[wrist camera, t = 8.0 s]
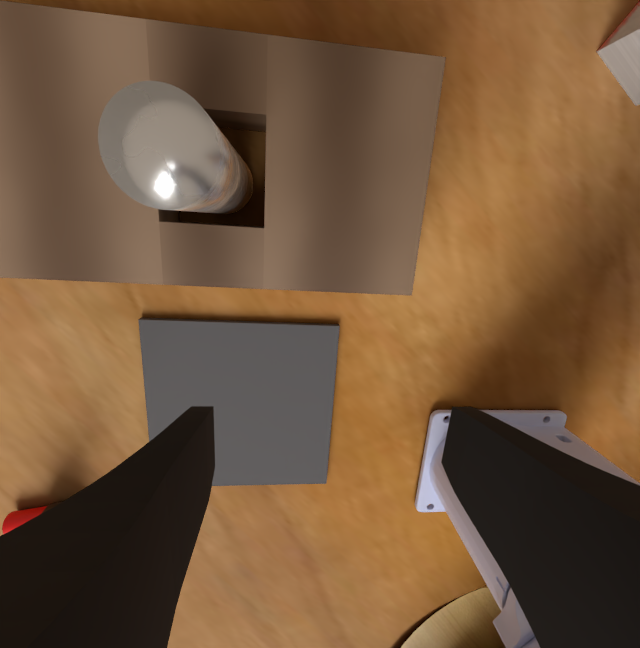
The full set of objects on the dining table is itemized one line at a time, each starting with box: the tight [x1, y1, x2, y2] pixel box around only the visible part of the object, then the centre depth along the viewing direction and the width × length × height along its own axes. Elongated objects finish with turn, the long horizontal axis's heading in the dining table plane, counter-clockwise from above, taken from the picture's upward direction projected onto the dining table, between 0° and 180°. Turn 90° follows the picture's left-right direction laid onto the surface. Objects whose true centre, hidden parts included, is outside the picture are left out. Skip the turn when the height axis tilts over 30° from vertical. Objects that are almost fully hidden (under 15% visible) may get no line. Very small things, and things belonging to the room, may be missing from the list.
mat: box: [139, 318, 340, 486], centre depth 21 cm, size 11×11×1 cm
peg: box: [98, 81, 253, 214], centre depth 13 cm, size 3×3×9 cm
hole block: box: [0, 0, 446, 295], centre depth 16 cm, size 19×10×3 cm, turn 86°
